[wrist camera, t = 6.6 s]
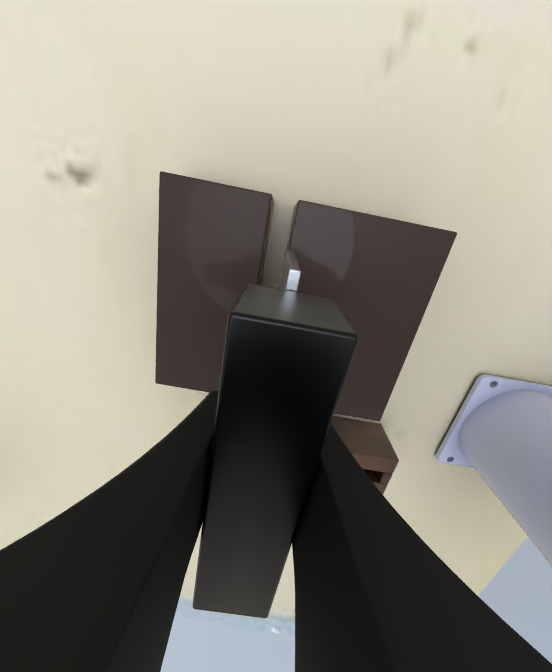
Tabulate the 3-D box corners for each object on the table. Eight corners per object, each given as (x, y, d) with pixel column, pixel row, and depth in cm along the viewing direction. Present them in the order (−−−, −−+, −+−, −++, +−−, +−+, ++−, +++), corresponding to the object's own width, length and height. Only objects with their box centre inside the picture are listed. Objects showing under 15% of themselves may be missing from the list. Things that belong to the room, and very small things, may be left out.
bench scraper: (273, 440, 15) (265, 628, 8) (233, 433, 15) (190, 619, 8) (316, 255, 11) (371, 307, 4) (263, 244, 11) (231, 280, 4)
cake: (422, 230, 16) (458, 232, 13) (364, 389, 20) (380, 421, 17) (295, 204, 15) (298, 199, 12) (263, 371, 20) (259, 401, 16)
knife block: (381, 424, 21) (399, 460, 18) (367, 457, 22) (381, 497, 19) (227, 398, 21) (217, 430, 17) (222, 434, 22) (211, 470, 19)
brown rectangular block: (274, 200, 15) (271, 193, 12) (246, 368, 20) (239, 397, 16) (185, 182, 15) (159, 170, 12) (176, 356, 19) (155, 383, 16)
